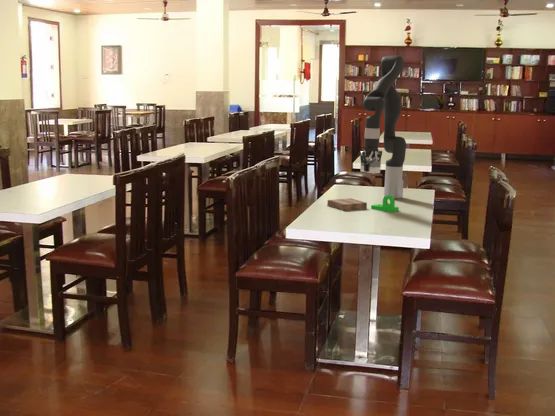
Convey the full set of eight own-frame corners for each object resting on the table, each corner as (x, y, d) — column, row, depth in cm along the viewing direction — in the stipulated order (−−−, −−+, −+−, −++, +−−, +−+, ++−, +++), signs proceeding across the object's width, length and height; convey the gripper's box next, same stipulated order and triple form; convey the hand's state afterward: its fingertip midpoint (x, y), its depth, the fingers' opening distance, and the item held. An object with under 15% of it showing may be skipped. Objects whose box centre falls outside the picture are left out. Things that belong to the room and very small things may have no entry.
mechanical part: (398, 211, 308) (399, 195, 306) (391, 212, 304) (392, 196, 302) (377, 207, 316) (378, 192, 314) (371, 209, 311) (371, 193, 310)
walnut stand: (350, 204, 323) (350, 198, 322) (366, 208, 311) (366, 202, 310) (327, 205, 316) (327, 200, 316) (343, 210, 304) (343, 204, 304)
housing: (367, 171, 322) (368, 159, 321) (380, 173, 315) (380, 161, 314) (360, 171, 319) (360, 159, 318) (373, 173, 312) (373, 161, 311)
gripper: (376, 136, 321) (374, 169, 324) (356, 137, 312) (354, 171, 315) (387, 137, 315) (385, 171, 318) (367, 138, 306) (365, 172, 309)
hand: (370, 171), depth 317 cm, fingers closed on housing, 5 cm apart
